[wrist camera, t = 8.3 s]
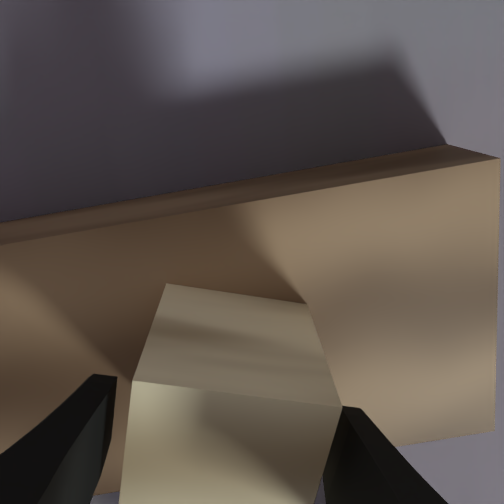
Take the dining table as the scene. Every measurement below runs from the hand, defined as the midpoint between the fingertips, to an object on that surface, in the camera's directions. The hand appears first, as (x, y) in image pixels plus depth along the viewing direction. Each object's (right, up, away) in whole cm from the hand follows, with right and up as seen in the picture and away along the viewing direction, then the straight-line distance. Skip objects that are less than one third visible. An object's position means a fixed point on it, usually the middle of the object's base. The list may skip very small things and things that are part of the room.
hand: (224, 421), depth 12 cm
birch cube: (0, +1, +3) cm, 3 cm away
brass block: (0, +2, +7) cm, 7 cm away
